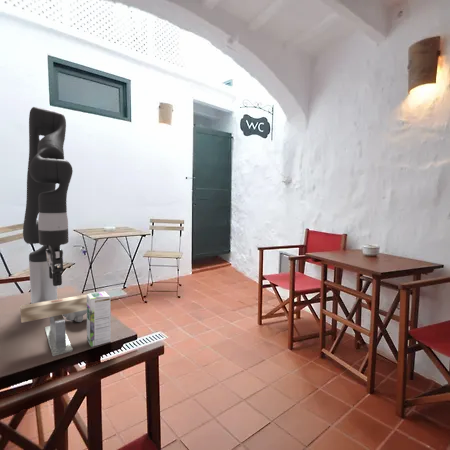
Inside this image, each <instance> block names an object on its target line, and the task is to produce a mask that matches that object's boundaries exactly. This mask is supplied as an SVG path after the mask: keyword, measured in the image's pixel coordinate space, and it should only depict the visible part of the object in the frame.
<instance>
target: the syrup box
mask: <svg viewBox="0 0 450 450" xmlns="http://www.w3.org/2000/svg"><path fill="white" fill-rule="evenodd" d="M111 307H112V305H111V296H110V295H109V293H108V292H106V291H95V292H90V293H87V313H86V341H87V342H88V345H89V346H90V347H91V348H93V347H97V346H99V345H103V344H108V343H110V342H111V341H112V340H111V339H112V337H111V335H112V334H111V332H112V331H111V325H112V324H111V321H112V319H111V312H112V311H111Z"/></svg>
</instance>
